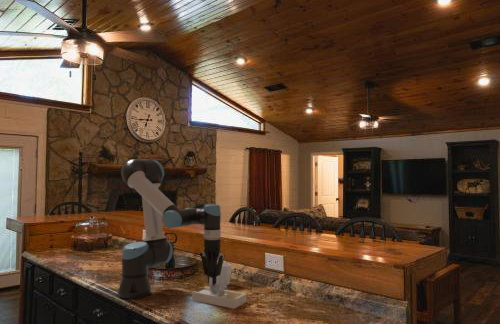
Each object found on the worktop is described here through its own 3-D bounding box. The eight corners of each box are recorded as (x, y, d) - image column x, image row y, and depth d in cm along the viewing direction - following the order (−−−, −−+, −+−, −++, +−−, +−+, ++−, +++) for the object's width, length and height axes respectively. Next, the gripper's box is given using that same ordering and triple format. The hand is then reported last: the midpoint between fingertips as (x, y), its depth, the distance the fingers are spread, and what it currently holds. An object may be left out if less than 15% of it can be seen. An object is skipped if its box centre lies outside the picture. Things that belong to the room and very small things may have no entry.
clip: (210, 295, 168) (210, 285, 168) (216, 293, 171) (216, 283, 172) (218, 297, 165) (218, 287, 166) (224, 294, 169) (224, 284, 169)
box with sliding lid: (192, 299, 169) (192, 291, 169) (205, 293, 178) (205, 286, 178) (234, 308, 158) (234, 300, 158) (246, 302, 167) (246, 293, 167)
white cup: (213, 285, 192) (213, 265, 192) (219, 281, 199) (219, 262, 200) (227, 286, 189) (227, 266, 190) (233, 282, 197) (233, 263, 197)
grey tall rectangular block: (211, 293, 178) (211, 289, 179) (221, 289, 185) (221, 285, 185) (217, 294, 177) (218, 290, 177) (227, 290, 184) (227, 286, 184)
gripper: (195, 238, 171) (195, 291, 170) (219, 241, 164) (219, 295, 163) (205, 236, 177) (205, 286, 176) (228, 238, 171) (228, 291, 170)
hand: (212, 291), depth 170 cm, fingers closed
